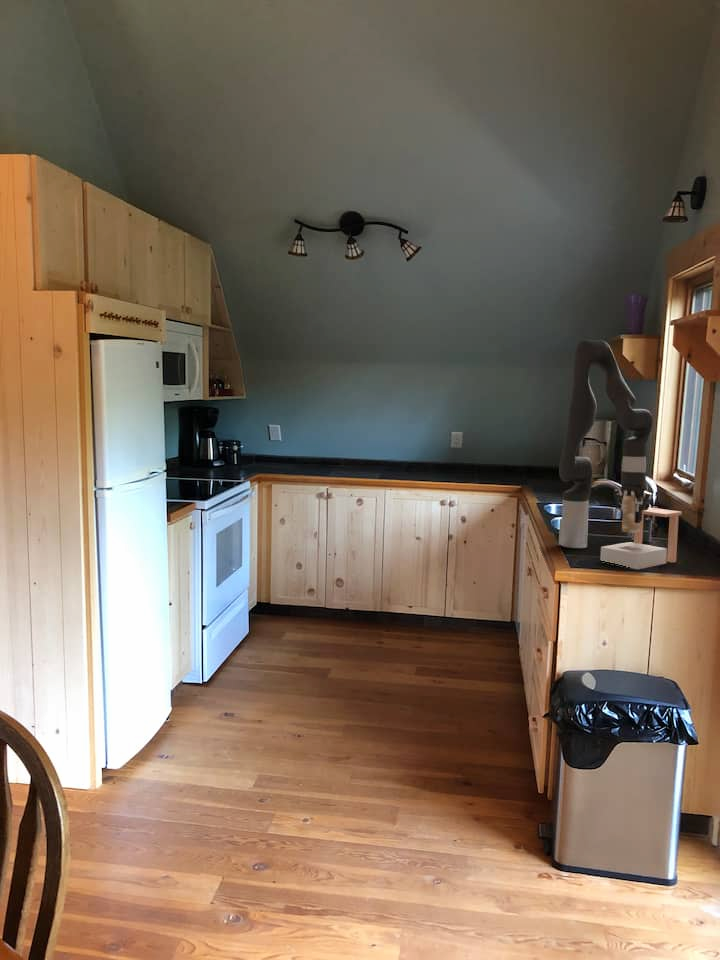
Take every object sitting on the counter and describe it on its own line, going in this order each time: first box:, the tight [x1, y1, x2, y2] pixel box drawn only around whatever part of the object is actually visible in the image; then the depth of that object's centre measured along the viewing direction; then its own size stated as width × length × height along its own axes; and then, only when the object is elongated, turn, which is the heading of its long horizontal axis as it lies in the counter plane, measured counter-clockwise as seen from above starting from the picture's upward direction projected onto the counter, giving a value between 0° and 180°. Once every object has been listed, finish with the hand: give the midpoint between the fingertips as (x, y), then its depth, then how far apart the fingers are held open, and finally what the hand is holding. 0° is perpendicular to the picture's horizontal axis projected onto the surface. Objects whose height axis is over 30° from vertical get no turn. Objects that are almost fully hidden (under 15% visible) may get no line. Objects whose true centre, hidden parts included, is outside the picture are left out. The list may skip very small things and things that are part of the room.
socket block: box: [599, 541, 668, 570], centre depth 245 cm, size 14×16×5 cm
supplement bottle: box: [631, 514, 653, 543], centre depth 282 cm, size 7×7×12 cm
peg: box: [621, 494, 640, 534], centre depth 242 cm, size 4×4×12 cm
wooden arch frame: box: [633, 506, 683, 563], centre depth 249 cm, size 16×10×17 cm, turn 35°
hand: (631, 521), depth 242 cm, fingers closed on peg, 4 cm apart
